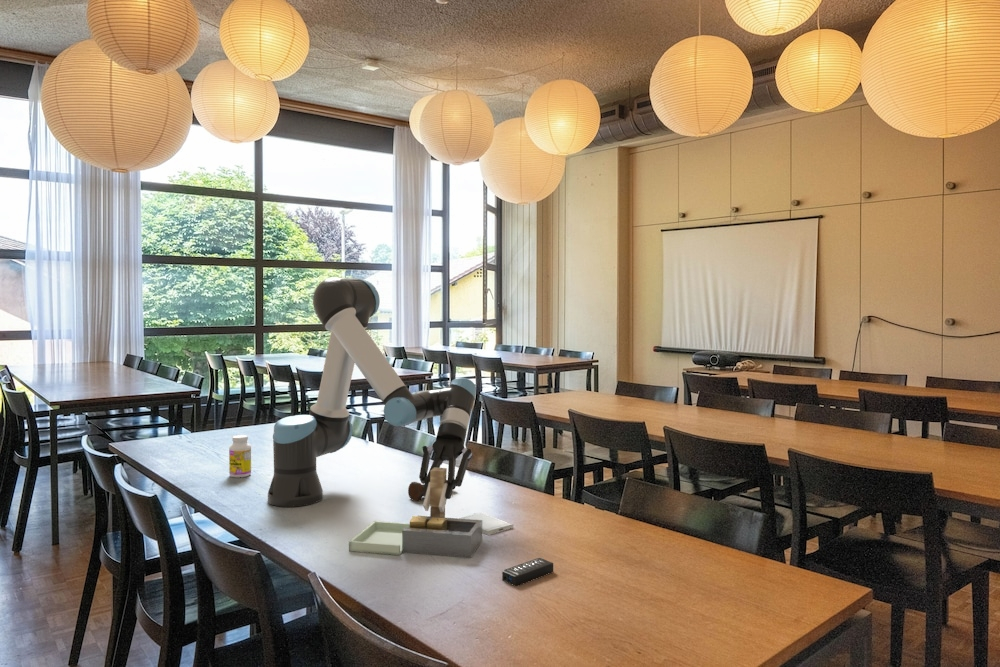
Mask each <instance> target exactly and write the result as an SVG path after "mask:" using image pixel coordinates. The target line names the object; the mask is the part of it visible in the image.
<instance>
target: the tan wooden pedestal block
mask: <svg viewBox="0 0 1000 667" xmlns="http://www.w3.org/2000/svg"><path fill="white" fill-rule="evenodd" d="M447 474H448V470H447V468H446V467H440V468H436V467H434V468H433V469H432V470H431V471H430V506H429V510H430V514H429V516H430V517H444V518H446V507H445V508H444V512H440V509H439V503H440V498H441V494H442V490H443V486H444V483H446V480H447Z"/></svg>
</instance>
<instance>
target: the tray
mask: <svg viewBox="0 0 1000 667" xmlns="http://www.w3.org/2000/svg"><path fill="white" fill-rule="evenodd" d="M404 528H410V523H406V522H405V523H404V522H393V521H392V522H391V521H377V520H374V521H373V522H372V523H370V524H369V525H368V526H367V527H365V528H364V529H363V530H362V531H360V532H359V533H358V534H357V535H355V536H354V537H352V539H350V540H349V541H348V552H352V551H357V552H356V553H364V552H370V553H369V554H376V553H379V554H380V555H388V554H391V556H400V555H401V554H402V553H403V552H402V530H403V529H404ZM379 554H378V555H379Z"/></svg>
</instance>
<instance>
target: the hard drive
mask: <svg viewBox="0 0 1000 667" xmlns="http://www.w3.org/2000/svg"><path fill="white" fill-rule="evenodd" d="M458 519H472V520H482V532H483V533H482V534H484V535H485V534H486V535H487V534H488V536H489V534H490V535H493V534H496V532H497V533H500V532H504V531H506V529H507V530H511V529H513V528H514V524H512V523H509V522H506V521H504V520H501V519H499V518H496V517H494V516H491V515H490V514H489V515H488V514H486V513H484V512H477V513H473V514H470V515H467V516H466V515H465V516H462V517H459V518H458ZM510 528H511V529H510ZM503 530H504V531H503ZM499 531H500V532H499Z"/></svg>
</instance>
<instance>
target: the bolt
mask: <svg viewBox="0 0 1000 667" xmlns="http://www.w3.org/2000/svg"><path fill="white" fill-rule="evenodd" d="M447 480H448V479H446V483H447V484H448V482H447ZM424 485H425V484H422V483H421V482H418V481H411V482H410V484H409V486H408V488H407V489H408V491H407V492H408V497H409V499H410V498H411V499H413V500H412V501H414V500H415V502H420V501H422V500H423V497H424V495H423V489H424ZM454 490H456V487H454V488H453V491H454ZM411 499H410V500H411ZM419 500H420V501H419Z"/></svg>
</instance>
